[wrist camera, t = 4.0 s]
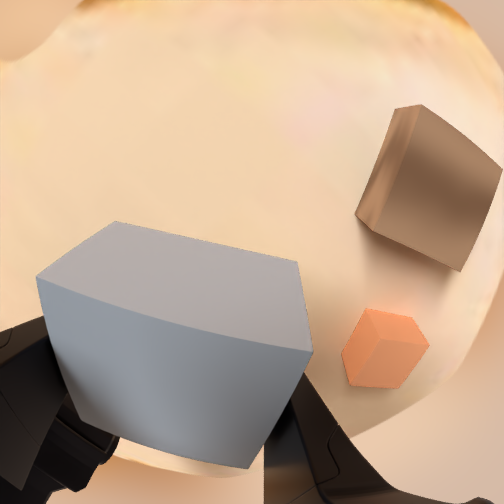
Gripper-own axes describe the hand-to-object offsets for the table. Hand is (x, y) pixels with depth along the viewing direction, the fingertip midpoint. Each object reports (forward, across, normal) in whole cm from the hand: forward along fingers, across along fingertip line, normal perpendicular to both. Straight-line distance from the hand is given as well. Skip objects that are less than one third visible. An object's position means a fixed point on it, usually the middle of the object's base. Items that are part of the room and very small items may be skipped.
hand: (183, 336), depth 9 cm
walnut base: (+12, -12, -7) cm, 18 cm away
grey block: (+1, 0, 0) cm, 1 cm away
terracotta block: (+11, -14, +6) cm, 19 cm away
